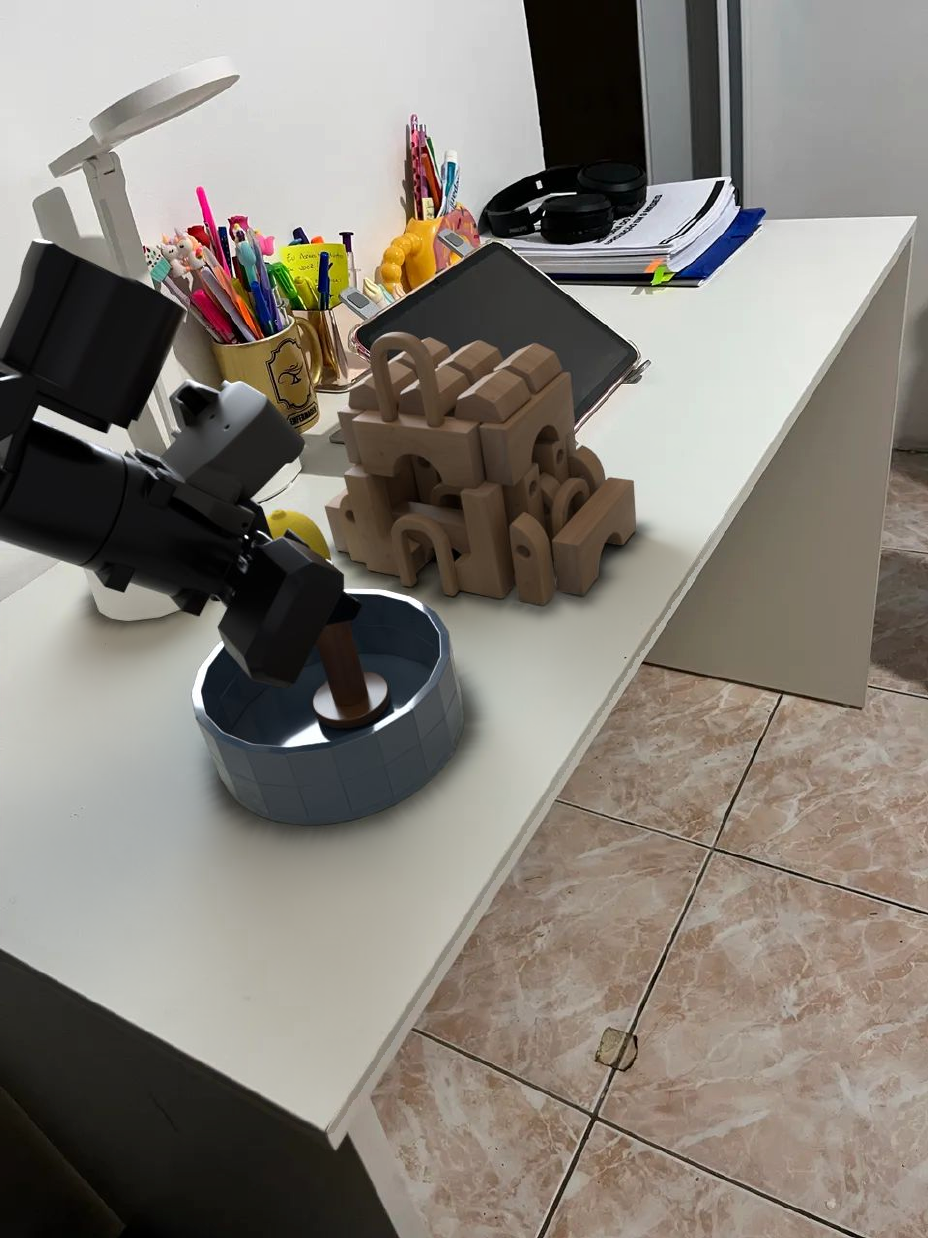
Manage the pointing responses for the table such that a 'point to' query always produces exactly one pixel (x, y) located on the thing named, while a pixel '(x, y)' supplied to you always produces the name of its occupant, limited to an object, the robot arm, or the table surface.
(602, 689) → the table surface
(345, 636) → the brown wooden peg
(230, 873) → the table surface
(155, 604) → the teardrop
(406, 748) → the bowl
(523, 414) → the wooden puzzle
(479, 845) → the table surface
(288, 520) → the lemon
